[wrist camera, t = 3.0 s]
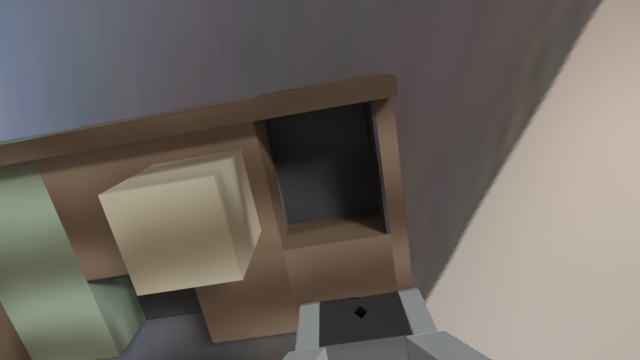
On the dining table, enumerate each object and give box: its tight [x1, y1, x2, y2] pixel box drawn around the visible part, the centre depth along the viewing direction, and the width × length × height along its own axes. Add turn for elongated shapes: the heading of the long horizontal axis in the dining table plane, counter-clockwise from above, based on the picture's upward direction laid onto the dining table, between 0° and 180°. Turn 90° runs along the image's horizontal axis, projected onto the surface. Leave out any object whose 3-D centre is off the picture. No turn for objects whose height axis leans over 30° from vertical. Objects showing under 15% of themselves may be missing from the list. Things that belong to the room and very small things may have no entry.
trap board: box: [0, 74, 413, 360], centre depth 22 cm, size 15×27×6 cm, turn 100°
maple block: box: [98, 149, 261, 296], centre depth 17 cm, size 5×5×5 cm
